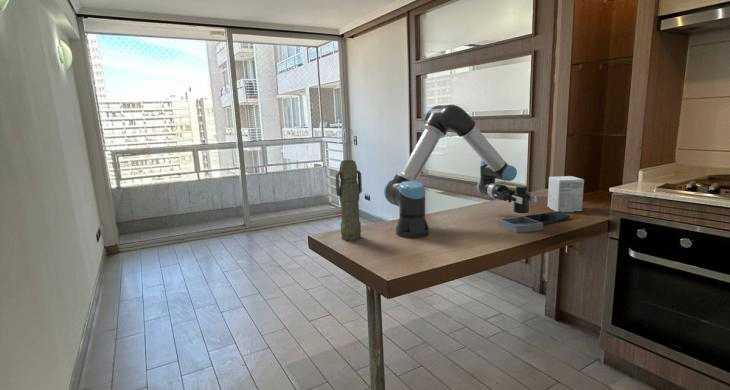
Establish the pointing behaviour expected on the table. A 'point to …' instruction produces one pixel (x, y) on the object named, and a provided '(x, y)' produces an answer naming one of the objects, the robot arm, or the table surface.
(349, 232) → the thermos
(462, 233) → the table surface
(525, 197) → the supplement bottle
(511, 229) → the tray
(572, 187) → the supplement box
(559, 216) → the dark slate chunk
